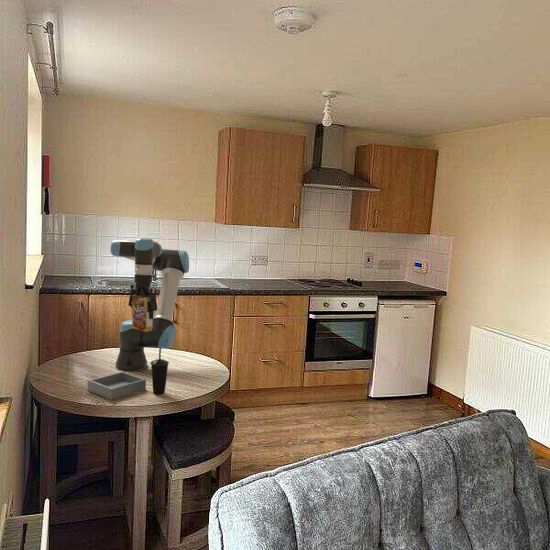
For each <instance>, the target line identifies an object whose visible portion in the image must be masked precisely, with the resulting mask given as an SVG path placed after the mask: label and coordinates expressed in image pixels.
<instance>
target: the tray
mask: <svg viewBox="0 0 550 550" xmlns="http://www.w3.org/2000/svg"><path fill="white" fill-rule="evenodd" d="M146 382H147V379H145V378H142V377H140V376H136V375H133V374H131V373H128V372H126V371H120V372H115V373H112V374H107V375H103V376H99V377H96V378H91V379H88V380H87V391H88V392H90V391H91V393H93V394H95V393H96V395H98V394H99V395H98V396H100V395H101V397H103V398H105V399H108V400H111V401H112V400H115V399H116V400H117V399H119V398H122V397H126V396H129V395H131V394H132V395H133V394H135V392H136V393H138V391H139V392H142V391H145V390H147V389H146V386H147V384H146Z"/></svg>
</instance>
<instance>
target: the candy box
mask: <svg viewBox="0 0 550 550" xmlns="http://www.w3.org/2000/svg"><path fill="white" fill-rule="evenodd" d="M148 301H150V297H143V295H137V296H136V295H133V309H132V308H131V320H132V328H133V329H137V330H141V331H145V332H147V331H152V326H148V327H147V326H146V325H147V311H148V308H147V303H148ZM150 309H151V308H150Z"/></svg>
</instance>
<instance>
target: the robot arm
mask: <svg viewBox="0 0 550 550" xmlns="http://www.w3.org/2000/svg"><path fill="white" fill-rule="evenodd" d="M110 253H111V255H112V256H113V257H118V258H119V257H120V258H125V259H128V260H132V261H134V273H135V274H134V283H135V284H131V285H130V293H129V299H128V307H130V308H131V310H132V309H133V295H136V296H137V295H143V297H150V301H148V303H147V308H148V311H147V325H146V326H147V327H148V326H152V331H147V332H145V331H141V330H137V329H133V328H132V319H128V320H125V321H123V322H121V323H120V328H119V352H118V356H117V358H116V361H115V368H116V369H118V370H121V371H125V372H126V371H130V372H133V371H141V370H144V369H145V368H147V367H148V359H147V357H146V354H145V348H151V349H152V348H153V349H159V348H161V350H162V349H163V350H165V349H166V350H167V349H170V348H171V347H172V346H173V345H174V342H175V340H176V337H177V334H176V333H177V327H176V325H175V323H174V321H173V316H174V311H175V305H176V300H177V296H178V291H179V287H180V281H181V280H182V279H183V278H184V276H185V274H187V273H189V271H190V258H189V254H188V252H187V251H185V250H180V249H167V248H166V249H165V248H164V249H163V248H162V245H161V243H159V242H157V241H154V240H153V239H152V238H142V237H141V238H136V240H122V239H114V240H112V242H111V244H110ZM153 271H158V272H161V274H162V275H163V278H162V283H161V287H160V292H159V296H158V300H157V296H156V291H157V289H156V287H152V285H151V284H152V283H153V275H152V274H153ZM150 308H151V309H150ZM154 312H155V315H154ZM140 369H141V370H140Z"/></svg>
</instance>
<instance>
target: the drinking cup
mask: <svg viewBox="0 0 550 550" xmlns="http://www.w3.org/2000/svg"><path fill="white" fill-rule="evenodd" d="M158 349H159V352H158V358H157V359H154V360H152V361H150V365H151V366H150V367H151V368H150V369H151V382H152V394H153V395H156V396H162V394H163V395H164V394H165V392H166V384H167V377H168V367H169V364H170V362H169V361H168V360H166V359H161V358H162V357H161V356H162V355H161V354H162V349H161V348H158Z"/></svg>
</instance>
